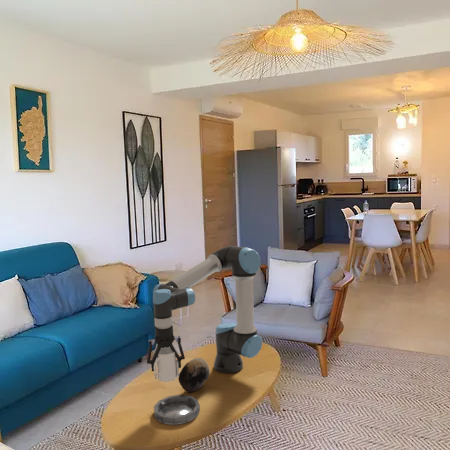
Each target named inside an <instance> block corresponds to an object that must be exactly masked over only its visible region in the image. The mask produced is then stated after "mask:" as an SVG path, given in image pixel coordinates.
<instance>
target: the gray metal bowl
mask: <svg viewBox="0 0 450 450" xmlns="http://www.w3.org/2000/svg"><path fill="white" fill-rule="evenodd" d="M200 408H201V407H200V403H199V400H198V399H197V398H195V397H193V396H192V395H186V394H175V395H170V396H167V397H164V398H161V399H160V400H158V401H157V402H156V404H155V405H154V406H153V411H154V412H153V413H154V418H155V420H156V421H158V422H159V423H161V424H164V425H169V426H177V425H178V426H179V425H184V424H187V423H189V422H191V421H193V420H195V419H196V418H197V417H198V416H199V414H200V412H201V411H200V410H201V409H200Z"/></svg>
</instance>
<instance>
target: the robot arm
mask: <svg viewBox="0 0 450 450" xmlns="http://www.w3.org/2000/svg"><path fill="white" fill-rule="evenodd" d="M260 267H261V256H260V255H259V253H258V252H257V250H255V249H254V248H253V249H252V248H249V247H244V246H236V245H227V246H224V247H222V248H219V249H218V250H216V251H214V252H211V254H209V255H208V256H207V258H206V259H205V260H203V261H201V262H200V263H198V264H196V265H195V266H193V267H191V268H190V269H188V270H186V271H185V272H183V273H181V274H180V275H178V276H176V277H175V278H173V279H171V280H169V281H168V282H166V283H158V284H156V285H155V286H154V287H153V290H152V294H153V295H152V303H153V315H154V316H153V318H154V319H153V320H154V331H155V334H154V335H155V338H154V339H148V351H147V357H146V364H147V365H151V367H150V368H151V371H152V373H153V372H154V364H155V361H156V360H157V356H158V354H159V351H160V349H161V348H166V347H167V348H168V347H170V348H171V350H172V351H173V352H175V356H176V369H177V377H179V374H180V371H179V369H182V360H185V359H186V358H185V357H186V356H185V353H184V350H183V346H182V341H181V340H182V338H181V336H180V335H178V336H174V326H173V311H174V310H178V309H181V308H182V309H183V308H185V307H189V306H191V305H193V304H195V302H196V294H195V291H194V290H193V289H192V287H193V286H195V285H196V284H199V282H201V281H202V280H204V279H206V278H207V277H209V276H210V275H212V274H214V273H215V272H216V273H218V272H219V273H220V272H221V271H223V270H226V269H227V270H231V276H232V277H233V278H234V280H235V281H234V282H235V285H234V286H235V314H236V315H235V316H236V322H224V323H221V324H217V326H216V328H215V344H216V347H215V348H216V355H215V359H214V362H213V369H214V370H215V372H218V373H221V374H222V373H223V374H232V373H233V374H234V373H238V372H240V371H241V370H242V369H243V367H244V362H243V358H242V357H245V358H249V359H251V358H255V357H256V356H257V355H258V354H259V352H260V351H261V349H262V346H263V339H262V337H261V336H260V335H258V328H257V326H255V319H254V317H255V316H254V277H256V275H257V272H259V270H260ZM174 341H175V342H176V343H177V346H178V349H179V352H180V355H179V353H178V352H177V350H176V348H175V346H174V345H173V343H174ZM154 344H156V345H157V346H156V348H155V350H154V353H153V355H152V350H153V346H154ZM241 356H242V357H241ZM155 370H156V371H157V366H156V367H155ZM154 379H155V380H158V375H157V374H155V373H154Z"/></svg>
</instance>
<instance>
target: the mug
mask: <svg viewBox="0 0 450 450" xmlns="http://www.w3.org/2000/svg"><path fill="white" fill-rule="evenodd" d="M176 360H177V358H176V356H175V352H173V351H172V350H171V348H170V347H168V348H167V347H165V348H161V349H160V351H159V354H158V356H157V358H156V361H155V364H154V371H153V372H154V375H155V374H157V380H158V381H160V382H164V383H167V382H168V383H169V382H173V381H175V380H176V379H177V378H178V376H177V369H176ZM155 367H156V368H157V369H156V370H155Z"/></svg>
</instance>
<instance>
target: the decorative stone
mask: <svg viewBox="0 0 450 450" xmlns="http://www.w3.org/2000/svg"><path fill="white" fill-rule="evenodd" d="M210 374H211V373H210V366H209V363H208V362H207V361H206V359H204V358H202V357H195V358H193V359H191V360H189V361H188V362H186V364H184V365H183V367H182V368H181V370H180V371H179V376H177V378H178V383H179V385H180V386H181V387H182V389H183V391H185V392H186V393H194V392H196V391H198V390H200V389H201V388H202V386H203V385H204V383H205V382H206V381H207V380H208V379H209V378H210Z"/></svg>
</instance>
